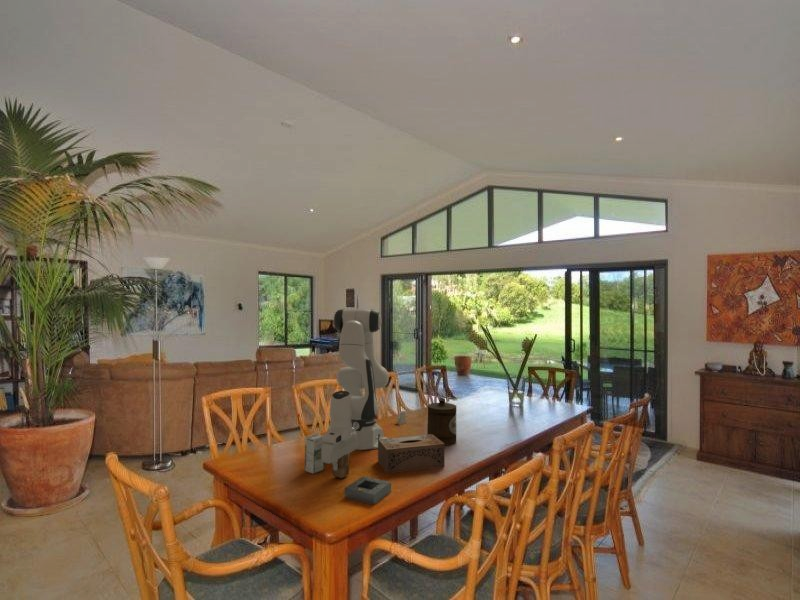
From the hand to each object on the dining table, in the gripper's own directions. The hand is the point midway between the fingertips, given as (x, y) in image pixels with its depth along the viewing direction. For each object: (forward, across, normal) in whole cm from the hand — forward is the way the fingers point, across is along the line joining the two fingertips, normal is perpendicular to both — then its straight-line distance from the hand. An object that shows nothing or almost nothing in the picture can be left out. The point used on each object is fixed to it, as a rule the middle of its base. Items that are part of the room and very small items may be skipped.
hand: (340, 467), depth 173 cm
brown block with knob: (+3, 0, 0) cm, 3 cm away
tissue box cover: (+5, -27, +18) cm, 33 cm away
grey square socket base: (+4, +8, +18) cm, 20 cm away
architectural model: (+6, -83, -16) cm, 84 cm away
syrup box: (+4, -1, -14) cm, 14 cm away
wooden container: (+5, -63, +18) cm, 65 cm away
